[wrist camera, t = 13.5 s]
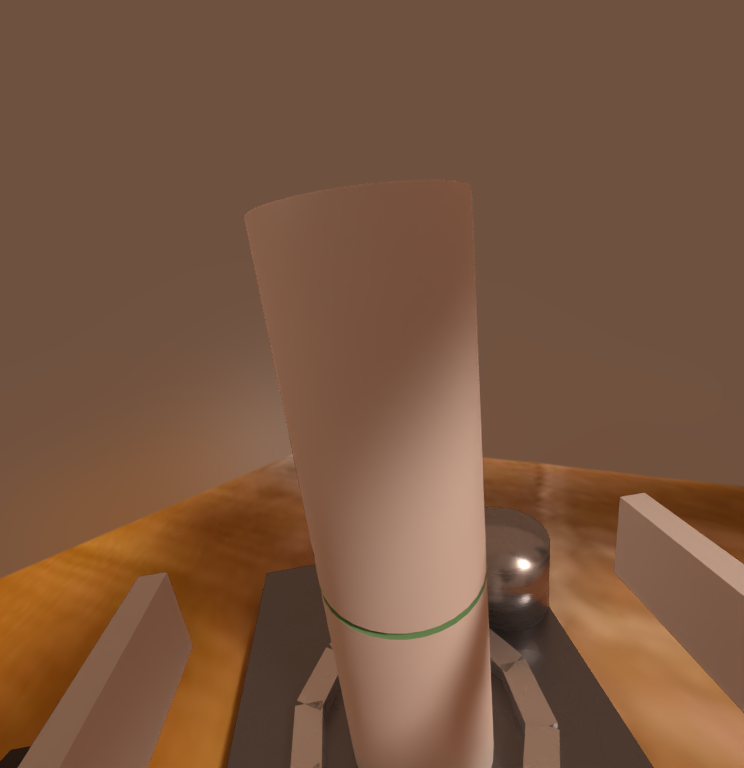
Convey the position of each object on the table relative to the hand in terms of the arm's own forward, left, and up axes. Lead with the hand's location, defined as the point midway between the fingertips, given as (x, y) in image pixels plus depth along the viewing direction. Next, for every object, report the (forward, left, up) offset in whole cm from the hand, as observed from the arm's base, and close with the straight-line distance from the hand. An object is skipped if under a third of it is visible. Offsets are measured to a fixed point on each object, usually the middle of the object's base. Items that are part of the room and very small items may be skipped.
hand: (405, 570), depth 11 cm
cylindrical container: (0, -5, -15) cm, 16 cm away
